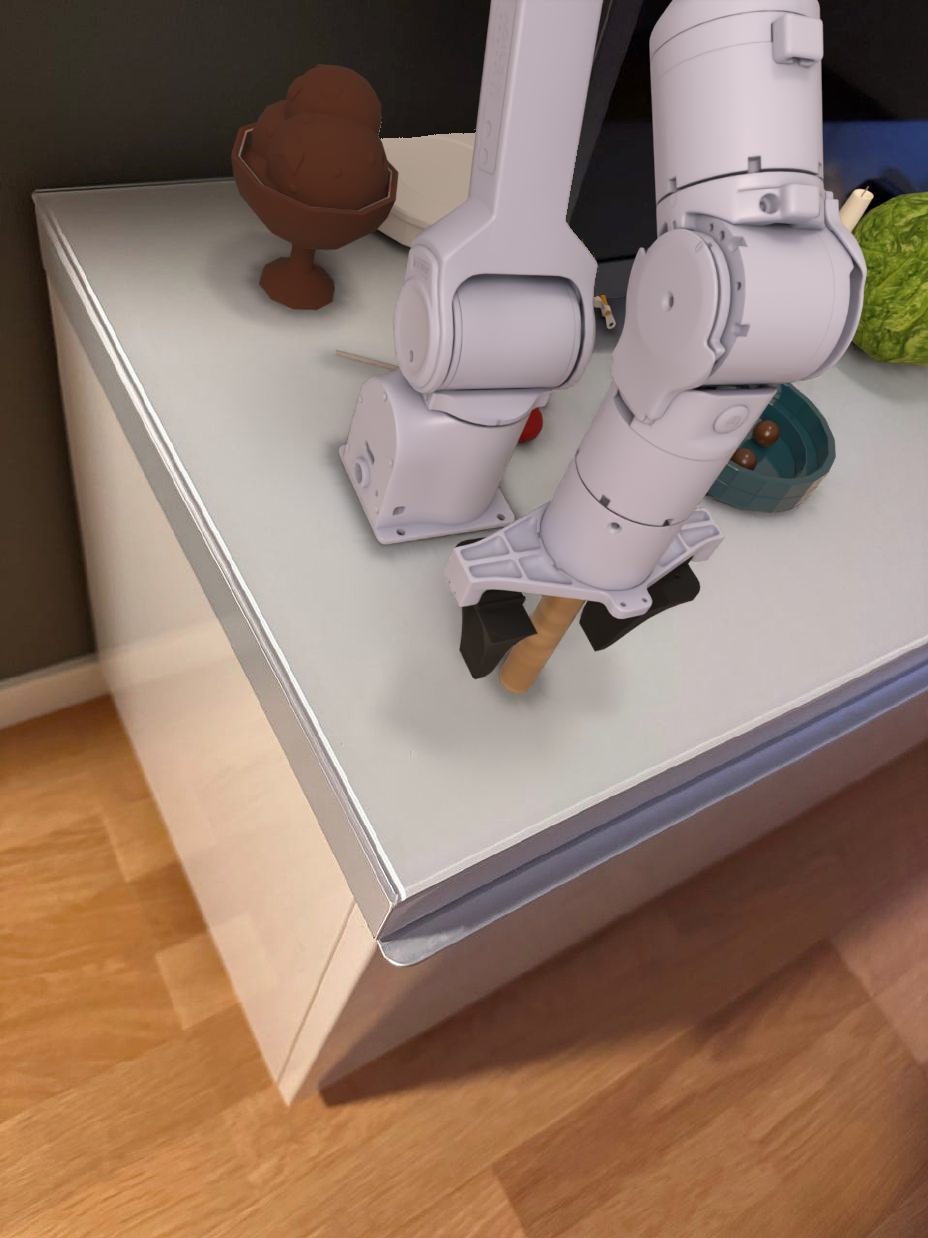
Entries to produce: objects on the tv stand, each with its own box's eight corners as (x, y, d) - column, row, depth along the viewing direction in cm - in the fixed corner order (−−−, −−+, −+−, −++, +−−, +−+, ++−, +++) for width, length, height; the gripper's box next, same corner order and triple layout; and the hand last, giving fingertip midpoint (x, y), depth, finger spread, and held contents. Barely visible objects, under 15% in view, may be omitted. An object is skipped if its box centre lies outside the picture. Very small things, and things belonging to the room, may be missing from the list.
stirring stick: (507, 696, 53) (564, 602, 46) (493, 667, 54) (547, 570, 47) (537, 689, 54) (598, 596, 47) (523, 660, 55) (580, 564, 48)
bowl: (707, 528, 66) (732, 494, 64) (619, 396, 72) (639, 360, 70) (841, 504, 72) (869, 473, 70) (749, 384, 78) (772, 351, 76)
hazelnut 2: (756, 453, 72) (770, 434, 71) (742, 434, 73) (756, 415, 72) (775, 450, 73) (789, 431, 72) (762, 432, 74) (775, 413, 73)
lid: (594, 224, 86) (606, 193, 83) (450, 290, 74) (460, 256, 71) (453, 126, 90) (461, 93, 87) (297, 173, 78) (301, 137, 76)
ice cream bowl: (207, 235, 70) (224, 18, 58) (354, 245, 74) (396, 45, 63) (232, 331, 65) (255, 114, 53) (388, 336, 69) (441, 136, 57)
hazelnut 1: (732, 482, 69) (746, 463, 68) (718, 462, 70) (732, 443, 69) (753, 479, 70) (767, 460, 69) (739, 459, 71) (752, 440, 70)
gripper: (534, 574, 36) (442, 743, 47) (808, 524, 43) (674, 682, 53) (462, 441, 40) (392, 627, 50) (727, 414, 46) (615, 583, 57)
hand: (533, 649), depth 52 cm, fingers open, 7 cm apart
